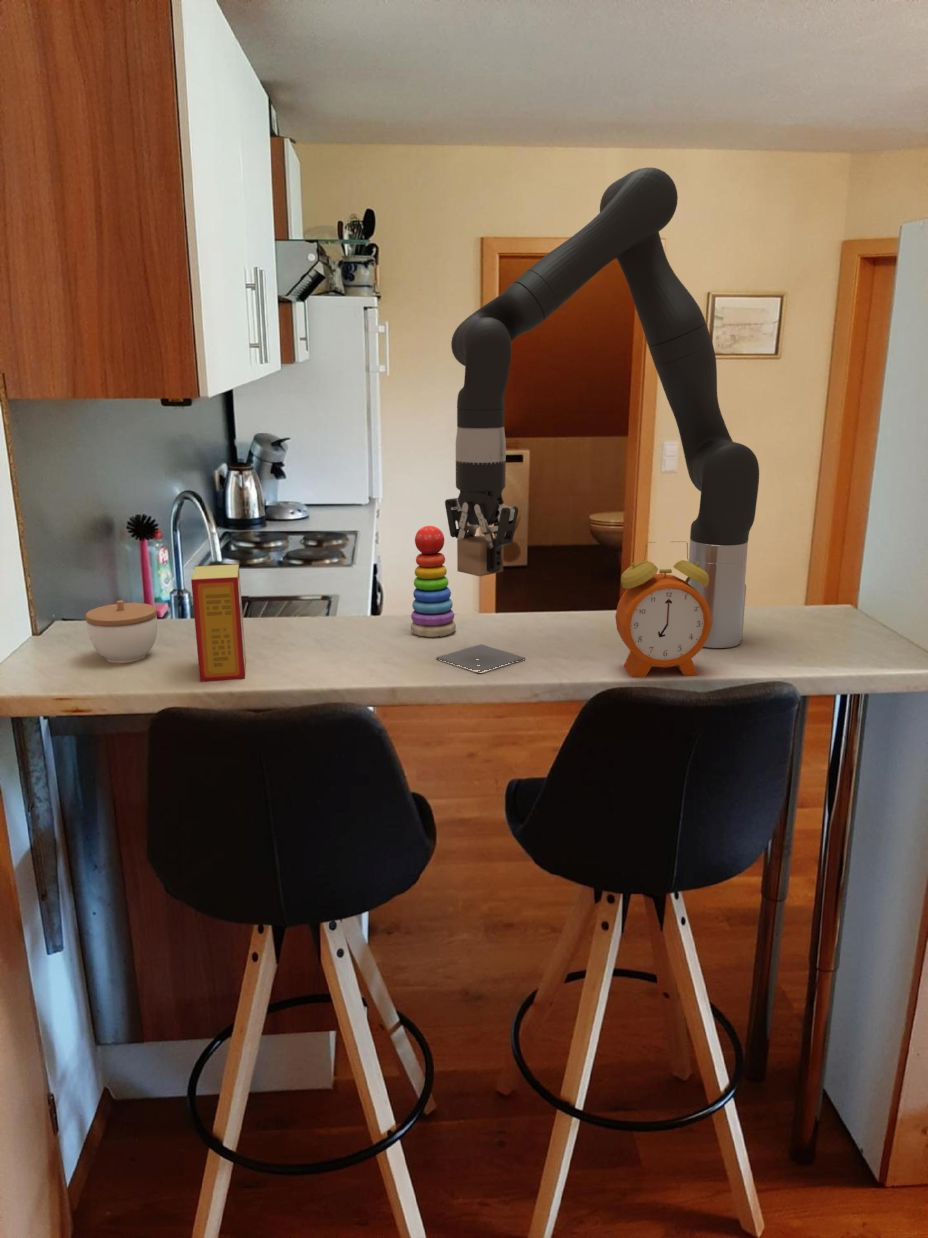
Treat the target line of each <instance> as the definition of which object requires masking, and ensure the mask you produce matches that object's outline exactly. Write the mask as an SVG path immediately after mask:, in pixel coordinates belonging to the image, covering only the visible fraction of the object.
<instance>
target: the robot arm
mask: <svg viewBox="0 0 928 1238" xmlns="http://www.w3.org/2000/svg"><path fill="white" fill-rule="evenodd" d="M676 186H677V185H676V184H675V182H674V180H673V179H672V177H671V176H670V175H669V174H667V172H665V171H664V170H662V169H659V168H657V167H643V168H638V169H635V170H633V171H630V172H629V173H626V174H625V175H624V176H622V177H621V178H618V179H617V180H616V181H614V182H612V183H611V184H610V185H609V186H608V187H607V188H606V189H605V190H604V193H603V194H602V196H601V199H600V203H599V213H598V214H597V215H596V216H595V217H593V218H592V220H591V221H590V222H588V223H587V224H586V225H584V227H582V228H581V229H580V230H579V231H577V232H576V233H575V234H574V235H572V236H571V237H569V238H568V239H567V240H565V241H564V242H562V243H561V244H560V245H558V246H556V247H555V248H554V249H553V250H551V251H550V252H548V253H547V254H546V255H544V256H543V257H541V258H540V259H539V260H537V262H535V263H534V264H533V265H531V266H530V267H529V268H528V269H527V270H526V271H525V272H523V273H522V274H521V275H520V276H519V277H517V278H516V279H515V280H514V281H513V282H512V283H511V284H510V285H509V286H508V287H507V288H506V289H504V291H503V292H501V293H500V294H499V295H498V296H496V297H495V298H493V299H492V300H491V301H489V302H487V303H485V304H484V305H483V306H482V307H480V308H478V309H477V310H475V312H473V313H472V314H471V315H469V316H468V317H466V318H465V319H464V320H463V321H462V322H461V323H460V324H459V325H458V326H457V327H456V328H455V331H454V332H453V335H452V337H451V341H450V343H451V346H450V347H451V351H452V355H453V357H454V358H455V360H456V361H457V362H458V363H459V364H460V365H463V366H464V367H465V368H464V382H463V387H462V388H460V390H459V391H458V394H457V399H456V400H457V401H456V402H457V403H456V424H457V425H456V427H457V428H456V434H455V435H456V436H455V437H456V438H455V487H456V489H457V490H459V493H458V494H459V495H458V497H453V498H448V499H446V500H445V501H444V506H445V513H446V517H447V524H448V531H449V535H450V536H451V538H455V539H463V538H468V537H474V536H476V533H477V530H478V529H480V532H481V534H482V535H483V536H485V539H486V543H487V546H488V548H487V571H488V572H491V573H493V572H497V571H499V570H500V568H501V558H502V547H503V548H504V546H506V545H511V544H513V540H514V534H515V532H516V531H515V529H516V526H517V525H516V524H517V520H518V514H519V508H518V506H516V505H515V506H514V505H513V506H509V505H507V504H505V502H504V499H503V498H504V497H503V495H502V494H503V493H502V492H503V491H504V489H505V488H506V474H507V473H506V470H507V469H506V464H507V462H506V461H507V459H506V457H507V455H506V454H507V453H506V452H507V451H506V450H507V449H506V448H507V443H506V441H507V440H506V434H505V394H506V389H507V386H508V380H509V375H510V369H511V361H512V341H514V340H515V339H517V338H518V337H519V336H520V335H522V334H525V333H527V332H530V331H532V330H534V329H535V328H537V327H538V326H539V325H541V324H542V323H543V322H544V321H546V320H547V319H548V318H549V317H550V316H551V315H553V313H555V312H556V311H557V310H558V309H559V308H560V307H561V306H562V305H563V304H565V303H566V302H567V301H568V300H569V299H570V298H571V297H573V296H574V294H576V293H577V292H578V291H579V290H581V288H582V287H583V286H584V285H585V284H587V282H588V281H590V280H591V279H592V278H593V277H594V276H596V274H598V273H599V272H600V271H601V270H602V269H604V268H605V267H606V266H608V264H610V263H612V261H614V260H615V259H616V260H617V262H618V264H619V266H620V269H621V270H622V274H623V275H624V278H625V280H626V283H627V286H628V288H629V291H630V295H631V298H632V301H633V304H634V308H635V309H636V313H637V317H638V319H639V321H640V324H641V327H642V330H643V331H642V332H643V333H644V338H645V340H646V344H647V347H648V350H649V353H650V356H651V359H652V360H653V365H654V367H655V370H656V372H657V375H658V377H659V380H660V383H661V385H662V388H663V391H664V394H665V396H666V399H667V402H668V404H669V407H670V408H671V409H670V410H671V411H672V414H673V416H674V420H675V423H676V426H677V429H678V433H679V436H680V437H679V438H680V443H681V446H682V451H683V454H684V460H685V465H686V468H687V473H688V476H689V478H690V479H689V480H690V481H691V483H692V484H693V486H694V487H695V488H696V489H697V490H698V491H699V492H700V500H699V509H698V514H697V517H696V519H694V520H693V522H691V525H690V533H689V547H688V561H689V560H690V561H689V562H691V563H692V562H693V563H692V564H694V563H695V564H694V565H696V563H697V562H700V565H699V566H698V567H699V568H701V569H702V570H704V571H705V572H706V573H707V574H708V576H709V583H708V586H707V587H706V586H704V585H702V584H700V583H698V582H696V581H695V580H693V579H690V580H689V582H688V584H689V585H691V586H692V587H693V588H694V589H696V590H697V591H698V592H699V593H700V594H701V595H702V596H703V598H704V599H705V600H706V603H707V605H708V607H709V609H710V613H711V628H710V633H709V637H708V639H707V641H706V642H705V644H704V646H703V648H710V649H724V648H726V649H727V648H733V647H736V646H739V644H740V643H741V640H742V639H743V634H744V633H743V632H744V622H745V608H746V607H745V606H746V595H747V584H746V574H747V560H748V559H747V557H748V549H749V548H748V547H749V545H748V544H749V536H750V531H751V529H752V527H753V524H754V522H755V517H756V511H757V500H758V493H759V484H760V482H759V481H760V465H759V460H758V458H757V456H756V454H755V452H754V451H753V450H752V449H751V448H750V447H748V446H747V445H744V444H742V443H739V442H736V441H734V440H733V439H732V437H731V435H730V432H729V430H728V428H727V425H726V423H725V420H724V418H723V414H722V412H721V408H720V405H719V398H718V372H717V369H718V367H717V357H716V352H715V348H714V343H713V341H712V337H711V334H710V331H709V328H708V324H707V323H706V318H705V316H704V314H703V312H702V310H701V307H700V306H699V304H698V303H697V301H696V300H695V299H694V297H693V295H692V294H691V293H690V291H689V290H688V289H687V288H686V286H685V285H684V284H683V283H682V281H681V280H680V279H679V277H678V276H677V275H676V273H675V272H674V270H673V269H672V268H673V267H671V264H670V263H669V259H668V258H667V254H666V253H665V252H666V251H665V249H664V246H663V242H662V239H661V235H660V231H662V230H663V229H664V228H665V227H666V226H667V225H668V224H669V223H670V222H671V220H672V218H673V217H674V215H675V212H676V209H677V206H678V189H677V187H676ZM456 522H457V524H456ZM492 525H493V526H492ZM457 526H458V528H457ZM493 538H495V539H493Z"/></svg>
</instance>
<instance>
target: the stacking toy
mask: <svg viewBox="0 0 928 1238" xmlns="http://www.w3.org/2000/svg"><path fill="white" fill-rule="evenodd" d="M414 545H415V547H416V548H417V550H418V551H419V552H420V553H419V554H417V556H416V557H415V563H416V564H417V567H415V569H414V575H415V578H414V580H413V586H414V587H415V589H414V590H413V592H412V593H413V598H414V600H413V601H412V609H413V610H412V612H411V616H410V617H411V618H410V619H411V620H412V622H411V623H410V630H411V632H412V633H413V634H415V635H416V636H421V637H425V636H426V638H436V637H438V636H440V637H444V636H445V637H446V636H448V635H450V634H452V633H453V632H455V630H456V627H457V625H456V622H455V621H454V619H455V613H454V611H453V610H452V609H453V605H454V603H453V601H452V599H451V595H452V592H451V589H450V588H449V587H448V586H449V579H448V577H447V576H446V575H447V572H448V571H447V568H446V566H445V565H444V564H445V562H446V557H445V555H444V554H443V553H441V552H442V549H443V548H444V545H445V534H444V533H443V532H442V531H441V529H440V528H438V527H437V526H435V525H424V526H422V527H421V528H419V530H418V531H416V534H415V536H414ZM438 638H439V637H438Z"/></svg>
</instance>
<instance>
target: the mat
mask: <svg viewBox="0 0 928 1238" xmlns="http://www.w3.org/2000/svg"><path fill="white" fill-rule="evenodd" d="M435 657H436V658H435V660H436V659H440V660H442V661H446V662H449V663H453V664H455V665H460V666H462V667H466V668H468V669H472V670H480V671H478V672H482V671H484V670H489V669H493V668H495V667H499V666H501V665H505V664H508V663H512V662H516V661H520V662H522V661H521V660H523V659H525V660H526V657H524V656H521V655H518V654H516V653H512V652H508V651H505V650H501V649H498V648H495V647H491V646H488V645H485V644H483V643H481V644H478V645H473V646H470V647H466V648H464V649H459V650H457V651H453V652H450V653H446V654H442V655H439V656H435ZM476 659H479V660H476ZM442 661H441V662H442ZM523 661H524V660H523ZM477 665H480V666H477Z"/></svg>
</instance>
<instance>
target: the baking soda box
mask: <svg viewBox="0 0 928 1238" xmlns="http://www.w3.org/2000/svg"><path fill="white" fill-rule="evenodd" d="M240 574H241V573H240V564H239V563H237V564H236V563H234V564H217V565H216V564H214V565H213V564H212V565H195V566H194V569H193V574H192V577H191V579H190V581H191V591H192V592H191V593H192V604H193V616H194V628H195V629H194V630H195V638H196V639H195V640H196V651H197V661H198V673H199V682H200V683H206V682H221V681H235V680H245V679H246V668H247V667H246V664H247V656H246V643H245V632H244V631H245V630H244V629H245V627H244V615H243V602H242V591H241V590H242V589H241V588H242V587H241V577H240V576H241V575H240Z"/></svg>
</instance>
